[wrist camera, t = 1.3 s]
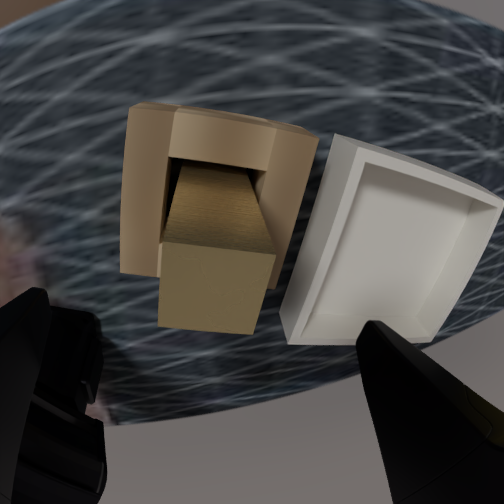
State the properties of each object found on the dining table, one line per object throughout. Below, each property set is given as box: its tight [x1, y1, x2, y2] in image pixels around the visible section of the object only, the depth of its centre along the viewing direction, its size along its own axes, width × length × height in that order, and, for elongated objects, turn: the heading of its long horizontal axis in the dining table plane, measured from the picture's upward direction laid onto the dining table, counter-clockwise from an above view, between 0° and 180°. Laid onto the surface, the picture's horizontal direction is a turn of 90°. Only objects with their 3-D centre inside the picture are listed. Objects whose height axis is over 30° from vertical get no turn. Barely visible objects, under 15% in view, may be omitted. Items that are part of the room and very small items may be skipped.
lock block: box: [120, 101, 319, 289], centre depth 15 cm, size 8×8×3 cm
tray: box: [279, 134, 504, 345], centre depth 19 cm, size 12×12×3 cm
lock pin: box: [158, 159, 276, 335], centre depth 13 cm, size 3×3×9 cm
